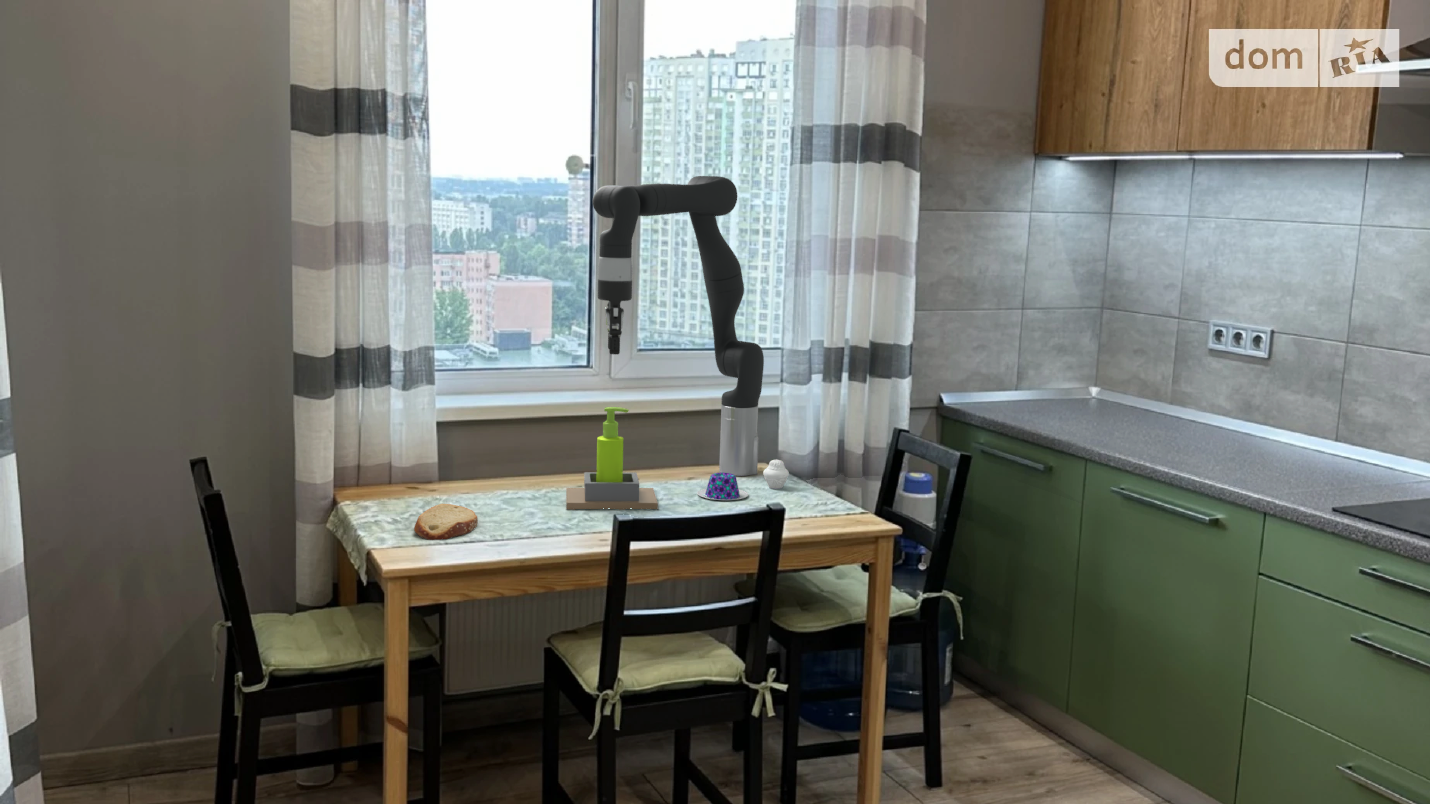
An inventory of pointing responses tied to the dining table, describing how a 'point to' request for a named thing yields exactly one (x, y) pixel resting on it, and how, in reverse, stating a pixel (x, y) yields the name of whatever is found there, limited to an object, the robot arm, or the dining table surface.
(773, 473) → the white lidded jar
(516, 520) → the dining table surface
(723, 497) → the pudding
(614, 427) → the soap dispenser
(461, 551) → the dining table surface
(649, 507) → the soap caddy
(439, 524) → the bread slice
